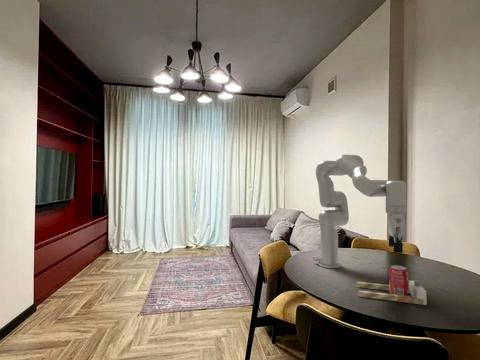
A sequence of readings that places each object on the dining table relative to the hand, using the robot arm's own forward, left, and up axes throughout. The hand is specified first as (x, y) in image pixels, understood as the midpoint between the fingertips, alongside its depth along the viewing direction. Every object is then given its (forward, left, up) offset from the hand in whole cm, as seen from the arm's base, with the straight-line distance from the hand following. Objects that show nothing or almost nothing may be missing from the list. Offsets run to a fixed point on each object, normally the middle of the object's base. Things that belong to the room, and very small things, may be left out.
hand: (395, 249), depth 113 cm
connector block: (+7, -2, -19) cm, 20 cm away
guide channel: (-4, -2, -19) cm, 19 cm away
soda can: (+1, -2, -19) cm, 19 cm away
